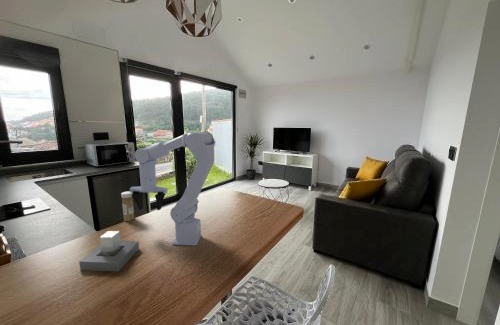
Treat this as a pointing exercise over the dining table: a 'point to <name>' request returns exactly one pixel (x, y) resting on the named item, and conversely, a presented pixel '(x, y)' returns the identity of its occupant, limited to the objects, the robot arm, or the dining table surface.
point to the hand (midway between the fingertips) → (150, 209)
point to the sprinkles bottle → (127, 206)
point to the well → (109, 258)
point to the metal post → (110, 243)
